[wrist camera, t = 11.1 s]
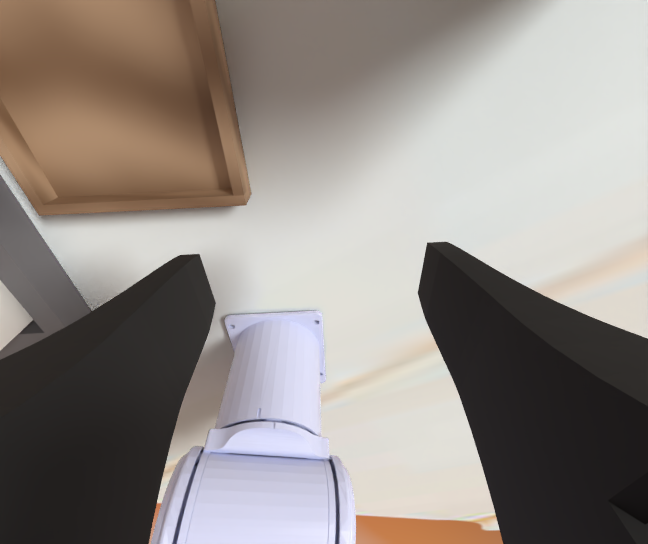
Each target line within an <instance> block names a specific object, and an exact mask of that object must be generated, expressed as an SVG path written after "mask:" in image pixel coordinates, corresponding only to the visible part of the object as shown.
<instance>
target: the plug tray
mask: <svg viewBox="0 0 648 544" xmlns="http://www.w3.org/2000/svg"><path fill="white" fill-rule="evenodd" d="M0 156H1V157H2V159H3V160H4V162H5V163H6V165H7V167H8V168H9V170H10V171H11V173H12V174H13V176H14V177H15V179H16V180H17V182H18V184H19V185H20V187H21V188H22V190H23V191H24V193H25V194H26V196H27V198H28V199H29V201H30V202H31V204H32V205H33V207H34V208H35V210H36V212H37V213H38V215H58V214H79V213H99V212H119V211H139V210H159V209H180V208H200V207H220V206H240V205H246V204H247V202H248V200H249V198H250V196H251V190H250V184H249V179H248V174H247V168H246V163H245V158H244V152H243V147H242V142H241V136H240V131H239V125H238V120H237V115H236V109H235V104H234V99H233V93H232V88H231V83H230V77H229V72H228V67H227V61H226V56H225V51H224V45H223V40H222V35H221V29H220V24H219V19H218V13H217V8H216V3H215V0H0Z"/></svg>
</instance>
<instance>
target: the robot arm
mask: <svg viewBox="0 0 648 544" xmlns="http://www.w3.org/2000/svg"><path fill="white" fill-rule="evenodd" d="M418 295H419V299H420V302H421V306H422V309H423V313H424V316H425V319H426V321H427V324H428V326H429V328H430V330H431V333H432V335H433V337H434V339H435V341H436V344H437V346H438V348H439V350H440V352H441V354H442V357H443V359H444V361H445V363H446V365H447V367H448V370H449V372H450V374H451V376H452V378H453V381H454V383H455V385H456V388H457V390H458V393H459V395H460V398H461V401H462V404H463V407H464V410H465V413H466V416H467V419H468V422H469V425H470V428H471V431H472V434H473V438H474V441H475V444H476V447H477V450H478V454H479V457H480V460H481V463H482V467H483V470H484V474H485V477H486V481H487V484H488V488H489V491H490V495H491V498H492V502H493V505H494V509H495V513H496V517H497V521H498V525H499V529H500V532H501V536H502V540H503V544H648V339H647V338H644V337H642V336H639V335H636V334H634V333H631V332H628V331H626V330H623V329H620V328H618V327H615V326H612V325H610V324H607V323H605V322H602V321H600V320H597V319H595V318H592V317H590V316H587V315H585V314H583V313H581V312H578V311H576V310H574V309H572V308H569V307H567V306H565V305H563V304H560V303H558V302H556V301H554V300H552V299H550V298H548V297H545V296H543V295H541V294H540V293H538V292H536V291H534V290H532V289H530V288H528V287H526V286H524V285H522V284H520V283H518V282H517V281H515V280H513V279H511V278H509V277H508V276H506V275H504V274H502V273H501V272H499V271H497V270H495V269H494V268H492V267H490V266H489V265H487V264H485V263H483V262H482V261H480V260H478V259H477V258H475V257H473V256H472V255H470V254H468V253H467V252H465V251H463V250H461V249H460V248H458V247H456V246H454V245H452V244H450V243H448V242H433V243H427V247H426V252H425V258H424V263H423V268H422V274H421V279H420V284H419V290H418ZM215 304H216V303H215V300H214V297H213V294H212V291H211V288H210V285H209V282H208V279H207V276H206V273H205V270H204V267H203V264H202V261H201V258H200V255H199V254H192V255H179V256H177V257H176V258H174V259H172V260H170V261H169V262H167V263H166V264H164V265H162V266H161V267H159V268H158V269H156V270H155V271H153V272H152V273H151V274H149V275H148V276H146V277H145V278H143V279H142V280H140V281H139V282H137V283H136V284H134V285H133V286H131V287H130V288H128V289H127V290H125V291H124V292H122V293H121V294H119V295H118V296H116V297H114V298H113V299H111V300H110V301H108V302H106V303H105V304H103V305H102V306H100V307H98V308H97V309H95V310H94V311H92V312H90V313H89V314H87V315H86V316H84V317H82V318H80V319H79V320H77V321H75V322H73V323H72V324H70V325H68V326H66V327H65V328H63V329H61V330H59V331H57V332H55V333H53V334H51V335H50V336H48V337H46V338H44V339H42V340H40V341H38V342H36V343H34V344H32V345H30V346H28V347H26V348H24V349H22V350H20V351H18V352H16V353H13V354H11V355H9V356H7V357H5V358H3V359H1V360H0V544H148V543H149V538H150V533H151V528H152V522H153V518H154V513H155V508H156V504H157V499H158V494H159V490H160V485H161V480H162V476H163V472H164V468H165V464H166V460H167V456H168V452H169V448H170V444H171V440H172V436H173V432H174V429H175V425H176V421H177V418H178V414H179V410H180V407H181V404H182V401H183V398H184V395H185V393H186V390H187V387H188V385H189V382H190V380H191V377H192V375H193V372H194V370H195V367H196V364H197V362H198V359H199V357H200V354H201V352H202V349H203V346H204V344H205V341H206V339H207V336H208V333H209V330H210V326H211V322H212V318H213V313H214V309H215ZM315 320H318V321H315ZM224 322H225V326H226V329H227V332H228V335H229V338H230V341H231V344H232V347H233V350H234V357H233V361H232V365H231V368H230V372H229V376H228V380H227V384H226V387H225V391H224V395H223V399H222V402H221V406H220V410H219V414H218V418H217V421H216V425H215V429H210V430H209V432H208V436H207V440H206V443H205V447H202V446H194V447H193V448H191V449H190V451H189V452H188V453H187V454H185V455H184V456H183V457H182V458H181V459H180V460H179V462H178V463H177V465H176V467H175V469H174V472H173V474H172V476H171V479H170V481H169V484H168V487H167V489H166V492H165V495H164V498H163V501H162V504H161V508H160V511H159V515H158V518H157V522H156V525H155V529H154V533H153V537H152V541H151V544H355V540H356V517H355V516H356V515H355V502H354V494H353V488H352V483H351V479H350V476H349V473H348V471H347V469H346V468H345V466H344V465H343V463H342V461H341V459H340V458H339V457H338V456H334V455H329V439H328V438H325V437H321V399H320V383H324V382H325V381H326V375H325V358H324V341H323V324H322V313H321V312H319V311H301V312H281V313H262V314H242V315H228V316H226V318H225V320H224ZM232 325H234V326H232Z"/></svg>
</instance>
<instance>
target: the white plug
mask: <svg viewBox="0 0 648 544" xmlns="http://www.w3.org/2000/svg"><path fill="white" fill-rule="evenodd" d="M32 320H33V318H32V317H31V316H30V315H29V314H28V312H27V311H26V310H25V309H24V308H23V307H22V305H21V304H20V303H19V302H18V301H17V299H16V298H15V297H14V296H13V295H12V293H11V292H10V291H9V290H8V289H7V287H6V286H5V285H4V284H3V283H2V282H1V280H0V351H1V350H2V349H3V348H4V347H5V346H6V345H7V344H8V343H9V342H10V341H11V340H12V339H13V338H14V337H15V336H17V335H18V334H19V333H20V332H21V331H22V330H23V329H24V328H25V327H26V326H27V325H28V324H29V323H30V322H31V321H32Z"/></svg>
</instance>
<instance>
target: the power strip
mask: <svg viewBox="0 0 648 544" xmlns="http://www.w3.org/2000/svg"><path fill="white" fill-rule="evenodd" d="M0 280H1V282H2V283H3V284H4V285H5V286H6V287H7V289H8V290H9V291H10V292H11V293H12V295H13V296H14V297H15V298H16V299H17V301H18V302H19V303H20V304H21V305H22V307H23V308H24V309H25V310H26V311H27V312H28V314H29V315H30V316H31V317H32V318H33V320H32V321H31V322H30V323H29V324H28V325H27V326H26V327H25V328H24V329H23V330H22V331H21V332H20V333H19V334H18V335H17V336H15V337H14V338H13V339H12V340H11V341H10V342H9V343H8V344H7V345H6V346H5V347H4V348H3V349H2V350H1V351H0V360H1V359H3V358H5V357H7V356H9V355H11V354H13V353H16V352H18V351H20V350H22V349H24V348H26V347H28V346H30V345H32V344H34V343H36V342H38V341H40V340H42V339H44V338H46V337H48V336H50V335H51V334H53V333H55V332H57V331H59V330H61V329H63V328H65V327H66V326H68V325H70V324H72V323H73V322H75V321H77V320H79V319H80V318H82V317H84V316H86V315H87V314H89V313H90V312H92V311H91V310H90V308H89V307H88V305H87V304H86V302H85V301H84V299H83V298H82V296H81V295H80V293H79V292H78V291H77V289H76V288H75V286H74V285H73V283H72V282H71V280H70V279H69V277H68V276H67V274H66V273H65V271H64V270H63V268H62V267H61V265H60V264H59V262H58V261H57V259H56V258H55V256H54V255H53V253H52V252H51V250H50V249H49V247H48V246H47V244H46V243H45V241H44V240H43V238H42V237H41V235H40V234H39V232H38V231H37V229H36V228H35V226H34V225H33V223H32V222H31V220H30V219H29V217H28V216H27V214H26V213H25V211H24V210H23V208H22V207H21V205H20V204H19V202H18V201H17V199H16V198H15V196H14V195H13V193H12V192H11V190H10V189H9V187H8V186H7V184H6V183H5V181H4V180H3V178H2V177H1V175H0Z"/></svg>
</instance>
